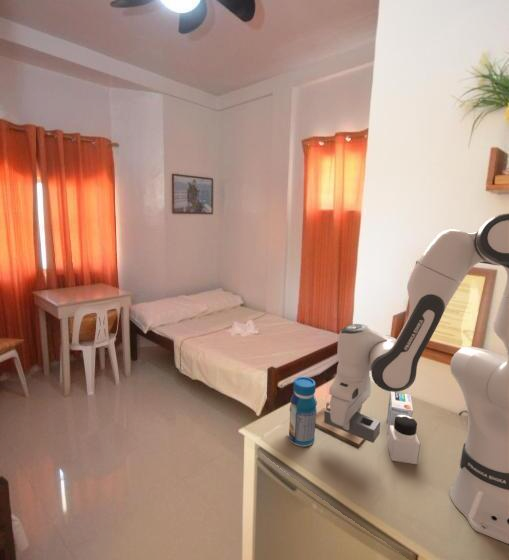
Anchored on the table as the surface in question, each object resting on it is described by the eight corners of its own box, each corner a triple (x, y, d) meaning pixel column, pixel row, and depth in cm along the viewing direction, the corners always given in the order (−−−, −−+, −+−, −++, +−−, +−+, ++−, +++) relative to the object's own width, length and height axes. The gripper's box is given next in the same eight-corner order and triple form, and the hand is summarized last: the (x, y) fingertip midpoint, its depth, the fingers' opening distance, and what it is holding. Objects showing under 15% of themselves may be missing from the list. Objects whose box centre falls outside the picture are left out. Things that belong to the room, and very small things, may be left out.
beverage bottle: (305, 451, 100) (309, 391, 96) (283, 439, 106) (285, 381, 102) (319, 438, 107) (323, 381, 103) (297, 426, 112) (300, 372, 108)
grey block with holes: (379, 433, 95) (380, 419, 94) (373, 443, 91) (373, 428, 90) (331, 414, 104) (332, 401, 103) (324, 422, 101) (324, 409, 100)
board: (371, 432, 110) (373, 412, 109) (358, 447, 103) (360, 427, 101) (323, 410, 121) (324, 392, 120) (308, 423, 114) (309, 404, 113)
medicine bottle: (417, 465, 96) (422, 428, 94) (391, 461, 97) (395, 424, 95) (411, 448, 103) (415, 413, 100) (387, 444, 104) (391, 410, 102)
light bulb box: (386, 417, 118) (389, 390, 116) (407, 422, 116) (410, 394, 114) (387, 436, 108) (390, 406, 106) (409, 441, 106) (413, 411, 104)
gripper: (357, 363, 104) (355, 402, 107) (326, 391, 89) (325, 436, 92) (377, 368, 100) (375, 409, 103) (348, 399, 85) (347, 446, 88)
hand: (351, 422), depth 97 cm, fingers closed on grey block with holes, 5 cm apart
